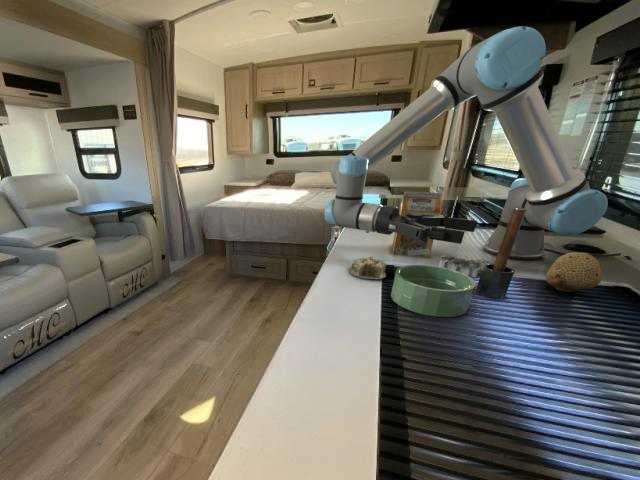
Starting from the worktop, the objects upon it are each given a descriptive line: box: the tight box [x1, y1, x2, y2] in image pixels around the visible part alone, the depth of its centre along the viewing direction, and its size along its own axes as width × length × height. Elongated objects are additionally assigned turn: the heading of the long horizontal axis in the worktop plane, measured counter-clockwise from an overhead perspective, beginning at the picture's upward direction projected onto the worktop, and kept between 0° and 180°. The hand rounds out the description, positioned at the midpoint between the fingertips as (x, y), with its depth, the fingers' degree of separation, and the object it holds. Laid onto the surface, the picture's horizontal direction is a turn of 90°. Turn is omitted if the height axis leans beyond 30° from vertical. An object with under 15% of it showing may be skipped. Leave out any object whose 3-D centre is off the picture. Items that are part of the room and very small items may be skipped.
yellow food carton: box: [392, 191, 443, 259], centre depth 106 cm, size 11×11×19 cm
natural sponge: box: [545, 251, 603, 293], centre depth 78 cm, size 9×9×10 cm
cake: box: [348, 255, 387, 280], centre depth 92 cm, size 10×10×5 cm
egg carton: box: [438, 254, 490, 278], centre depth 93 cm, size 11×8×4 cm
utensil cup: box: [474, 263, 515, 300], centre depth 78 cm, size 6×6×7 cm
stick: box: [492, 208, 527, 272], centre depth 75 cm, size 2×2×20 cm
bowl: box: [390, 264, 477, 318], centre depth 75 cm, size 16×16×6 cm
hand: (469, 231), depth 78 cm, fingers open, 13 cm apart
